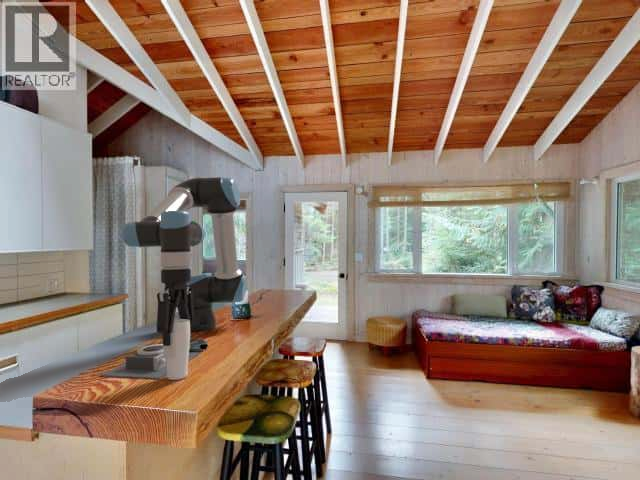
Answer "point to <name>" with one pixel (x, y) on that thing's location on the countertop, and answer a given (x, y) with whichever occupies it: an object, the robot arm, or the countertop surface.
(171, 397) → the countertop surface
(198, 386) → the countertop surface
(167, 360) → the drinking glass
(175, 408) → the countertop surface
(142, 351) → the flat gray baseplate
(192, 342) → the electronic device
